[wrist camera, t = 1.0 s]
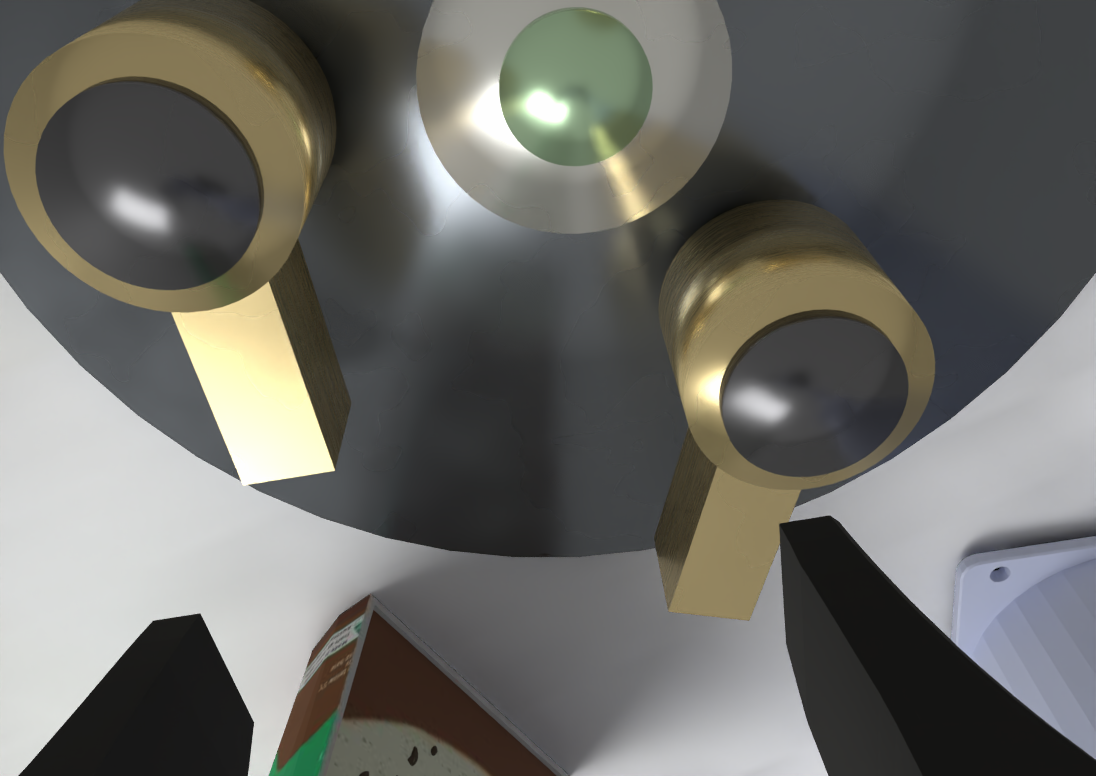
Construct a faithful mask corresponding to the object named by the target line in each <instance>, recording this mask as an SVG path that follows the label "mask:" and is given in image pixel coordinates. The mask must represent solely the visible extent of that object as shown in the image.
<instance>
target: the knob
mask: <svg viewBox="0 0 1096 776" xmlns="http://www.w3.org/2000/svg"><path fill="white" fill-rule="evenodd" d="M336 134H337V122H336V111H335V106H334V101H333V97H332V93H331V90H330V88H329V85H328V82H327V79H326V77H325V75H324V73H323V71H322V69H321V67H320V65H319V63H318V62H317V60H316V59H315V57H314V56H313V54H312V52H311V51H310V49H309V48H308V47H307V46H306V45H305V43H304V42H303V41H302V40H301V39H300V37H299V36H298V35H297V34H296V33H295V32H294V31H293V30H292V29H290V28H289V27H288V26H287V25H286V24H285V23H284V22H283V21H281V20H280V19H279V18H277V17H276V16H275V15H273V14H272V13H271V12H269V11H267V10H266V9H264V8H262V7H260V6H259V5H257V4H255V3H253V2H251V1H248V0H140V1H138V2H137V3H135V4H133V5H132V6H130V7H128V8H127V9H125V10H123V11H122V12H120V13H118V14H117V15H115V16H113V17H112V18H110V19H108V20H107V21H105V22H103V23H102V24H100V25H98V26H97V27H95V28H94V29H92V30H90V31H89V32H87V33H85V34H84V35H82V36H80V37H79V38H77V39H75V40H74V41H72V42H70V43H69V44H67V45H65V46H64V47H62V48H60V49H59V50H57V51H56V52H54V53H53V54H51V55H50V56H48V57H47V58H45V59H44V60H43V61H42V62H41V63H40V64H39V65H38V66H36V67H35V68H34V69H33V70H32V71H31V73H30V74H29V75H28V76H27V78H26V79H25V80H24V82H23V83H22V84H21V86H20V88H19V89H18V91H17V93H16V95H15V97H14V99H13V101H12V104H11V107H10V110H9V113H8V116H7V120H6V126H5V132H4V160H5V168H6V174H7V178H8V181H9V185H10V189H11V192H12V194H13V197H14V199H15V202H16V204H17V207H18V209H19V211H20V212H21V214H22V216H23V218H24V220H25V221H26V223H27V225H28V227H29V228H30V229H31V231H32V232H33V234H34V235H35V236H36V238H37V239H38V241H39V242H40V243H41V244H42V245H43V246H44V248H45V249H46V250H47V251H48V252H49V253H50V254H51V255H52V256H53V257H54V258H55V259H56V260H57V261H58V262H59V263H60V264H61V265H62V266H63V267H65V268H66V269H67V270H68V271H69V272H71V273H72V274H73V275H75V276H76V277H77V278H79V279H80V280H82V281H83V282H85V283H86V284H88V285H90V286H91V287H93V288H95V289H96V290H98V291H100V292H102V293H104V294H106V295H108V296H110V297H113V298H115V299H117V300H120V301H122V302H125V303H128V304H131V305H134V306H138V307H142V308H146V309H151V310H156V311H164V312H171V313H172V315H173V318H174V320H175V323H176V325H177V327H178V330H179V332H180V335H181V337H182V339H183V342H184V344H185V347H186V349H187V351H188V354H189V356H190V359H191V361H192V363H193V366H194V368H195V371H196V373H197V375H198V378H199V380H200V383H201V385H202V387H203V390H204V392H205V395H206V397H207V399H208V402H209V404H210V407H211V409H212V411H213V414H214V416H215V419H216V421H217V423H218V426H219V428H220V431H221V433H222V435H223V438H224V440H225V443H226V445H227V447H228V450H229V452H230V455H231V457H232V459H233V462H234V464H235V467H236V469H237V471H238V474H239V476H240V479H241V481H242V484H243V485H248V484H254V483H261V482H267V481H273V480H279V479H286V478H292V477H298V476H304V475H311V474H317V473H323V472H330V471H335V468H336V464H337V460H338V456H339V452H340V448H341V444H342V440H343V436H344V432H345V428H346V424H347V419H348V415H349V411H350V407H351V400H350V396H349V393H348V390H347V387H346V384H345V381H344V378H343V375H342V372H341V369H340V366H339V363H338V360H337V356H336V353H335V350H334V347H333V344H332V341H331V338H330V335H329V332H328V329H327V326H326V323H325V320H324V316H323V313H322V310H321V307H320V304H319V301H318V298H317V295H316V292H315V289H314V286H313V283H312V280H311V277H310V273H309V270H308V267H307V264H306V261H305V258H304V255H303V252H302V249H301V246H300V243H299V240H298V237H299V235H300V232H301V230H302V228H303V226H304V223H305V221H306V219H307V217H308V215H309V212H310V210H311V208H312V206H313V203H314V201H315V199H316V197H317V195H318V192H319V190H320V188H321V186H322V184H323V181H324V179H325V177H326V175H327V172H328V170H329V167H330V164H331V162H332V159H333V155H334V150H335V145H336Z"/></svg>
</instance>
